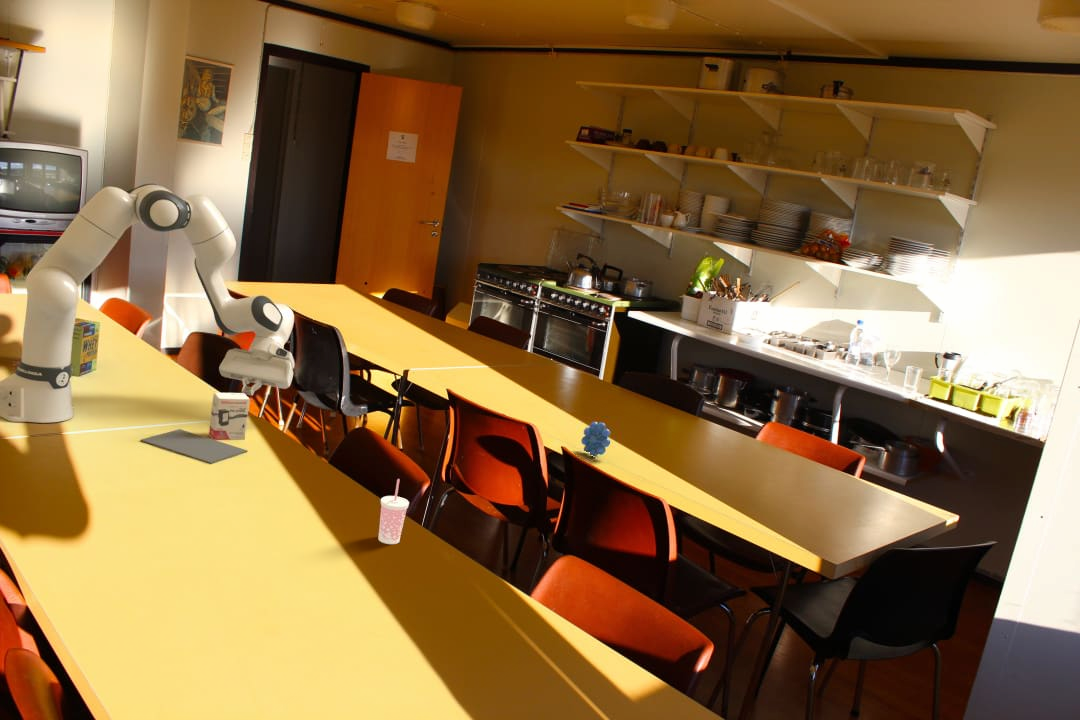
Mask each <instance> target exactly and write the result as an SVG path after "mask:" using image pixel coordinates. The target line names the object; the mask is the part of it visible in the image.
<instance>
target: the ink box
mask: <svg viewBox="0 0 1080 720" xmlns="http://www.w3.org/2000/svg"><path fill="white" fill-rule="evenodd" d="M212 395H213V396H212V405H211V413H210V420H209V421H210V422H209V429H208V430H209V431H208V434H209V436H210V439H213V440H216V441H219V440H221V441H222V440H225V441H226V440H227V441H229V440H234V441H235V440H236V441H237V440H238V441H239V440H242V441H243V440H246V433H247V432H246V431H247V424H248V417H249V415H248V414H249V408H250V401H251V400H250V398H249V396H247V394H244V393H242V392H215V393H214V392H213V394H212Z"/></svg>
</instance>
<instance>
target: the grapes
mask: <svg viewBox="0 0 1080 720" xmlns="http://www.w3.org/2000/svg"><path fill="white" fill-rule="evenodd" d="M583 435H584V436H583V437H582V438H581V441H580V442H581V444H582V445H583V446H584V447H583V452H584V451H586V452H590V453H589V455H590V456H591V455H593V456H596V457H597V456H598V455H600V456H602V455H604V454H605V452H606V450H607V449H606V448H608V447H609V446H610V445H611V440H610V438H609V437H610V435H611V430H610V429H609V428H606V424H605V422H603V421H602V422H601V421H599V423H598V422H597V421H592V422H591V423H590V424H589V427H585V428H584V429H583Z"/></svg>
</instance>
